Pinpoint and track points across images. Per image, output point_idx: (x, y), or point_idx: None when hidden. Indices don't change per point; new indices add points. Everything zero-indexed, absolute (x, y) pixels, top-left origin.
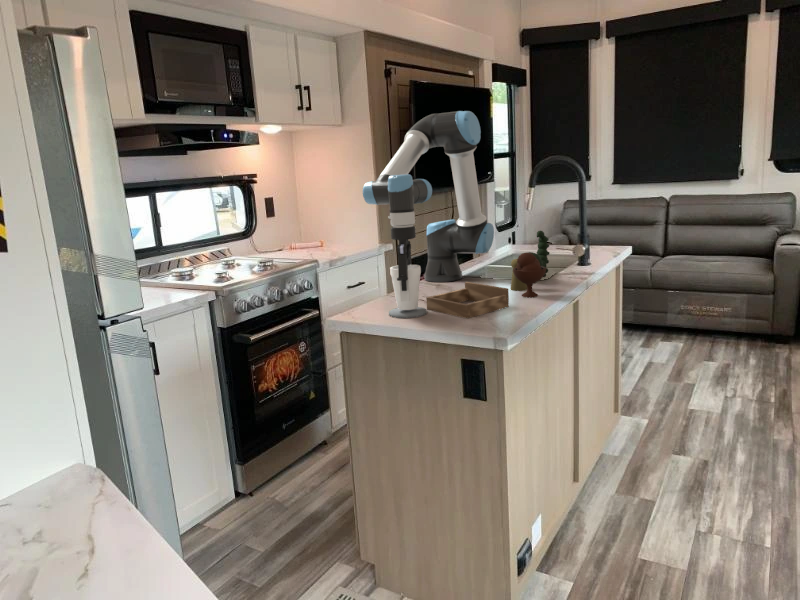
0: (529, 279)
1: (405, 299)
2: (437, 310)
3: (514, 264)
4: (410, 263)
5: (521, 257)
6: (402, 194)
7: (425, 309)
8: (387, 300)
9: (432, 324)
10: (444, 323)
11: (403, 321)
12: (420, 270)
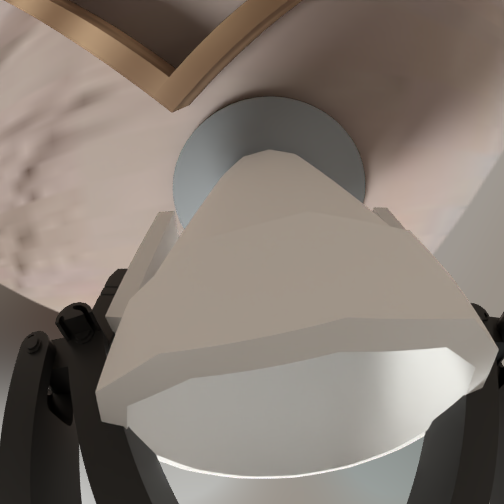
0: None
1: None
2: (251, 41)
3: None
4: (91, 430)
5: None
6: None
7: (245, 105)
8: (62, 296)
9: (466, 88)
10: (460, 42)
11: (405, 198)
12: (337, 249)
